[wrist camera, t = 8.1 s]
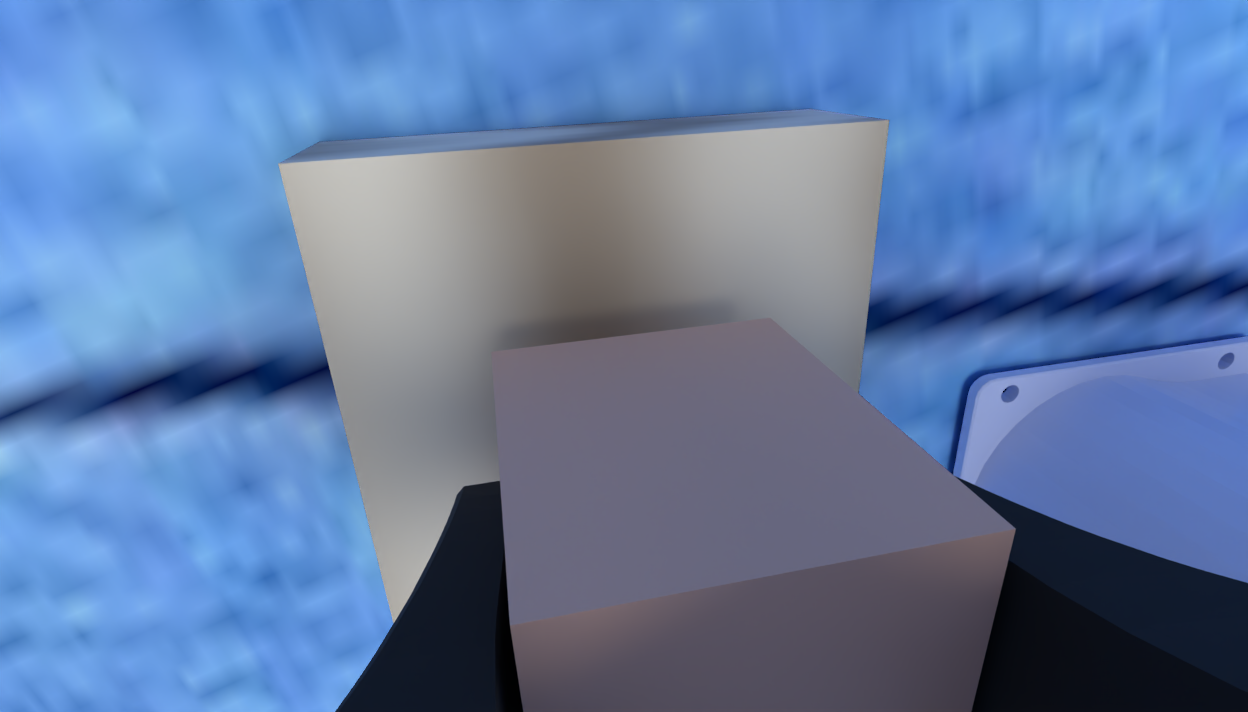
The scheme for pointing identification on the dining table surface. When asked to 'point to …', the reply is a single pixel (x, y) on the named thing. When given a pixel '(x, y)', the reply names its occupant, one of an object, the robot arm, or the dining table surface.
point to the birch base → (561, 271)
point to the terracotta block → (731, 534)
